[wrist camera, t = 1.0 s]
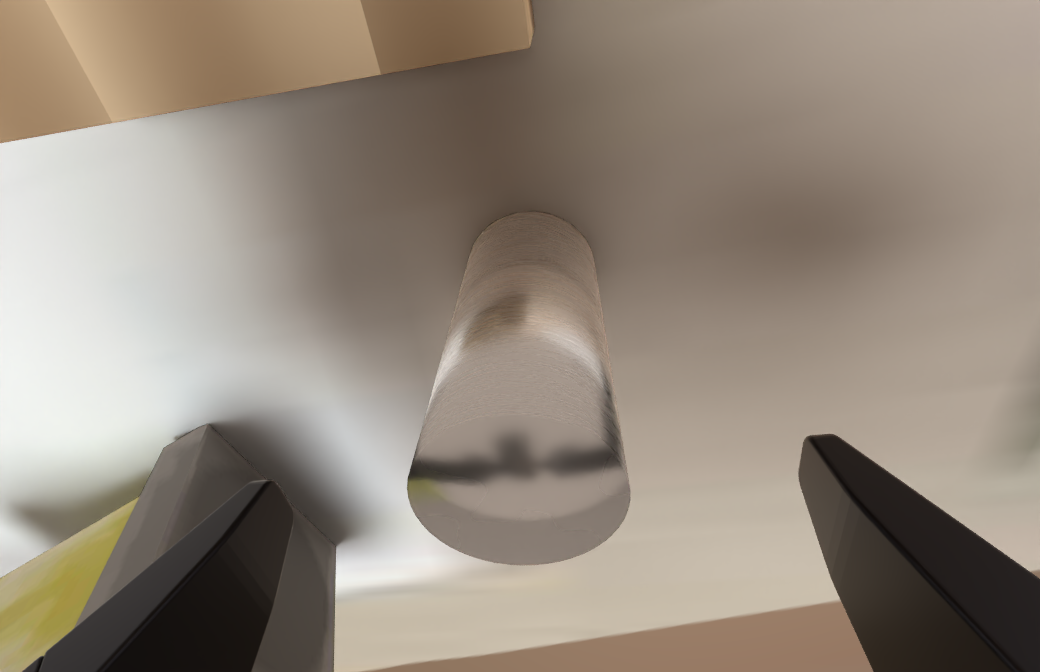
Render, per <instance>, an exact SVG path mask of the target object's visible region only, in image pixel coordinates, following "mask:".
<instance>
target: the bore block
mask: <svg viewBox="0 0 1040 672" xmlns="http://www.w3.org/2000/svg"><path fill="white" fill-rule="evenodd" d="M534 28H535V24H534V16H533V8H532V1H531V0H0V143H4V142H9V141H15V140H21V139H26V138H32V137H37V136H43V135H48V134H54V133H60V132H65V131H71V130H76V129H82V128H87V127H93V126H99V125H104V124H110V123H115V122H121V121H126V120H132V119H137V118H143V117H149V116H154V115H160V114H165V113H171V112H176V111H182V110H188V109H193V108H199V107H204V106H210V105H215V104H221V103H226V102H232V101H238V100H243V99H249V98H254V97H260V96H265V95H271V94H277V93H282V92H288V91H293V90H299V89H304V88H310V87H316V86H321V85H327V84H332V83H338V82H343V81H349V80H354V79H360V78H366V77H371V76H377V75H382V74H388V73H393V72H399V71H405V70H410V69H416V68H421V67H427V66H432V65H438V64H443V63H449V62H455V61H460V60H466V59H471V58H477V57H482V56H488V55H494V54H499V53H505V52H510V51H516V50H521V49H527V48H530V45H531V41H532V37H533V32H534Z"/></svg>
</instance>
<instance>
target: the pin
mask: <svg viewBox="0 0 1040 672" xmlns="http://www.w3.org/2000/svg"><path fill="white" fill-rule="evenodd" d="M407 490H408V498H409V501H410V504H411V507H412V509H413V511H414V513H415V515H416V517H417V518H418V519H419V521H420V522H421V523H422V525H423V526H424V527H425V528H426V529H427V530H428V531H429V532H430V533H431V534H432V535H434V536H435V537H436V538H437V539H439V540H440V541H442V542H443V543H445V544H446V545H448V546H450V547H452V548H453V549H455V550H457V551H459V552H462V553H464V554H467V555H469V556H472V557H475V558H478V559H482V560H486V561H490V562H495V563H502V564H510V565H539V564H548V563H554V562H559V561H563V560H567V559H570V558H573V557H576V556H579V555H581V554H584V553H586V552H588V551H590V550H592V549H594V548H595V547H597V546H598V545H600V544H602V543H603V542H604V541H606V540H607V539H608V538H609V537H610V536H611V535H612V534H613V533H614V532H615V531H616V530H617V529H618V528H619V526H620V525H621V523H622V522H623V520H624V518H625V516H626V514H627V511H628V508H629V503H630V486H629V480H628V473H627V467H626V460H625V454H624V448H623V441H622V435H621V429H620V422H619V416H618V409H617V403H616V397H615V390H614V384H613V378H612V371H611V365H610V358H609V352H608V346H607V339H606V333H605V327H604V320H603V314H602V307H601V301H600V295H599V288H598V282H597V276H596V269H595V263H594V257H593V254H592V251H591V248H590V246H589V244H588V242H587V241H586V239H585V238H584V236H583V235H582V234H581V233H580V232H579V231H578V230H577V229H576V228H575V227H574V226H573V225H571V224H570V223H568V222H567V221H565V220H563V219H561V218H559V217H557V216H554V215H551V214H548V213H542V212H531V211H529V212H519V213H514V214H511V215H508V216H505V217H503V218H501V219H499V220H497V221H495V222H494V223H492V224H491V225H489V226H488V227H487V228H486V229H485V230H484V231H483V232H482V233H481V234H480V235H479V237H478V238H477V240H476V241H475V243H474V245H473V247H472V249H471V252H470V256H469V260H468V263H467V267H466V270H465V274H464V278H463V281H462V285H461V288H460V292H459V296H458V299H457V303H456V307H455V310H454V314H453V317H452V321H451V325H450V328H449V332H448V335H447V339H446V343H445V346H444V350H443V353H442V357H441V361H440V364H439V368H438V372H437V375H436V379H435V382H434V386H433V390H432V393H431V397H430V400H429V404H428V408H427V411H426V415H425V418H424V422H423V426H422V429H421V433H420V437H419V440H418V444H417V447H416V451H415V455H414V458H413V462H412V465H411V469H410V473H409V476H408V485H407Z"/></svg>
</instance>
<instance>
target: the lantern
mask: <svg viewBox="0 0 1040 672" xmlns="http://www.w3.org/2000/svg"><path fill="white" fill-rule="evenodd" d="M258 480H266V479H265V478H264V477H263V476H262V475H261V474H260V473H259V472H258V471H257V470H256V469H255V468H254V467H253V466H252V465H251V464H250V463H249V462H247V461H246V460H245V459H244V458H243V457H242V456H241V455H240V454H239V453H238V452H237V451H236V450H235V449H234V448H233V447H232V446H231V445H230V444H229V443H228V442H227V441H226V440H225V439H224V438H223V437H221V436H220V435H219V434H218V433H217V432H216V431H215V430H214V429H213V428H212V427H211V426H210V425H209V424H206V425H203V426H201V427H199V428H197V429H195V430H193V431H192V432H190V433H188V434H187V435H185V436H183V437H181V438H180V439H178V440H176V441H175V442H173V443H171V444H169V445H168V446H166V447H164V448H163V450H162V452H161V454H160V456H159V458H158V460H157V462H156V464H155V466H154V468H153V470H152V472H151V474H150V476H149V478H148V480H147V482H146V484H145V486H144V488H143V490H142V492H141V494H140V496H139V497H137V498H136V499H134V500H132V501H131V502H129V503H127V504H126V505H124V506H122V507H120V508H119V509H117V510H115V511H114V512H112V513H110V514H109V515H107V516H105V517H103V518H102V519H100V520H98V521H97V522H95V523H93V524H92V525H90V526H88V527H86V528H85V529H83V530H81V531H80V532H78V533H76V534H75V535H73V536H71V537H70V538H68V539H66V540H64V541H63V542H61V543H59V544H58V545H56V546H54V547H53V548H51V549H49V550H47V551H46V552H44V553H42V554H41V555H39V556H37V557H36V558H34V559H32V560H30V561H29V562H27V563H25V564H24V565H22V566H20V567H19V568H17V569H15V570H13V571H12V572H10V573H8V574H7V575H5V576H3V577H2V578H0V672H22V671H23V670H24V669H25V668H27V667H28V666H29V665H30V664H31V663H33V662H34V661H35V660H36V659H37V658H39V657H40V656H44V655H45V652H46V651H47V650H48V649H50V648H51V647H52V646H53V645H54V644H56V643H57V642H58V641H59V640H60V639H62V638H63V637H64V636H65V635H66V634H68V633H69V632H70V631H71V630H72V629H74V628H75V627H76V626H77V625H78V624H80V623H81V622H82V621H83V620H84V619H86V618H87V617H88V616H89V615H90V614H92V613H93V612H94V611H95V610H96V609H98V608H99V607H100V606H101V605H102V604H104V603H105V602H106V601H107V600H108V599H110V598H111V597H112V596H113V595H114V594H116V593H117V592H118V591H119V590H120V589H122V588H123V587H124V586H125V585H126V584H128V583H129V582H130V581H131V580H132V579H134V578H135V577H136V576H137V575H138V574H140V573H141V572H142V571H143V570H144V569H146V568H147V567H148V566H149V565H150V564H152V563H153V562H154V561H155V560H157V559H158V558H159V557H160V556H161V555H163V554H164V553H165V552H166V551H167V550H169V549H170V548H171V547H172V546H173V545H175V544H176V543H177V542H178V541H179V540H181V539H182V538H183V537H184V536H185V535H187V534H188V533H189V532H190V531H191V530H193V529H194V528H195V527H196V526H197V525H199V524H200V523H201V522H202V521H203V520H205V519H206V518H207V517H208V516H209V515H211V514H212V513H213V512H214V511H215V510H217V509H218V508H219V507H220V506H221V505H223V504H224V503H225V502H226V501H227V500H229V499H230V498H231V497H232V496H233V495H235V494H236V493H237V492H238V491H239V490H241V489H242V488H243V487H244V486H245V485H247V484H248V483H250V482H252V481H258ZM289 503H290V502H289ZM290 504H291V503H290ZM291 506H292V508H293V511H294V523H293V528H292V532H291V536H290V540H289V545H288V549H287V553H286V558H285V562H284V566H283V570H282V575H281V579H280V583H279V588H278V592H277V595H276V599H275V603H274V606H273V610H272V613H271V616H270V619H269V622H268V625H267V628H266V631H265V634H264V637H263V640H262V643H261V646H260V649H259V651H258V654H257V657H256V660H255V663H254V666H253V669H252V672H334V628H335V574H336V546H335V545H334V544H333V543H332V542H331V541H330V540H329V539H328V538H327V537H326V536H324V535H323V534H322V533H321V532H320V531H319V530H318V529H317V528H316V527H315V526H314V525H313V524H312V523H311V522H310V521H309V520H308V519H307V518H306V517H305V516H304V515H303V514H302V513H301V512H300V511H298V510H297V509H296V508H295V507H294V506H293V505H292V504H291Z"/></svg>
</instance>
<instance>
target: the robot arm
mask: <svg viewBox="0 0 1040 672" xmlns="http://www.w3.org/2000/svg"><path fill="white" fill-rule="evenodd" d="M799 482H800V486H801V489H802V493H803V496H804V499H805V502H806V505H807V508H808V511H809V514H810V517H811V520H812V523H813V526H814V529H815V532H816V535H817V538H818V541H819V544H820V547H821V550H822V553H823V556H824V559H825V562H826V565H827V568H828V571H829V574H830V576H831V579H832V581H833V584H834V586H835V588H836V591H837V593H838V595H839V597H840V600H841V602H842V604H843V606H844V608H845V610H846V613H847V615H848V617H849V619H850V621H851V624H852V626H853V628H854V630H855V632H856V634H857V636H858V639H859V641H860V643H861V645H862V648H863V650H864V652H865V654H866V656H867V658H868V660H869V663H870V665H871V667H872V669H873V672H1040V579H1039V578H1038V577H1037V576H1035V575H1034V574H1032V573H1031V572H1029V571H1028V570H1027V569H1025V568H1024V567H1022V566H1021V565H1020V564H1018V563H1017V562H1015V561H1014V560H1012V559H1011V558H1010V557H1008V556H1007V555H1005V554H1004V553H1003V552H1001V551H1000V550H998V549H997V548H995V547H994V546H993V545H991V544H990V543H988V542H987V541H986V540H984V539H983V538H981V537H980V536H978V535H977V534H976V533H974V532H973V531H971V530H970V529H969V528H967V527H966V526H964V525H963V524H961V523H960V522H959V521H957V520H956V519H954V518H953V517H952V516H950V515H949V514H947V513H946V512H944V511H943V510H942V509H940V508H939V507H937V506H936V505H935V504H933V503H932V502H930V501H929V500H927V499H926V498H925V497H923V496H922V495H920V494H919V493H918V492H916V491H915V490H913V489H912V488H910V487H909V486H908V485H906V484H905V483H903V482H902V481H901V480H899V479H898V478H896V477H895V476H893V475H892V474H891V473H889V472H888V471H886V470H885V469H884V468H882V467H881V466H879V465H878V464H876V463H875V462H874V461H872V460H871V459H869V458H868V457H867V456H865V455H864V454H862V453H861V452H859V451H858V450H857V449H855V448H854V447H852V446H851V445H850V444H848V443H847V442H845V441H844V440H842V439H841V438H840V437H838V436H836V435H834V434H822V435H810V436H807V437H806V438H805V440H804V442H803V448H802V454H801V459H800V465H799ZM293 523H294V511H293V508H292V506H291V504H290V503H289V501H288V499H287V498H286V496H285V494H284V493H283V491H282V489H281V488H280V486H279V484H278V483H277V482H276V481H274V480H258V481H252V482H250V483H248V484H247V485H245V486H244V487H243V488H242V489H241V490H239V491H238V492H237V493H236V494H235V495H233V496H232V497H231V498H230V499H229V500H227V501H226V502H225V503H224V504H223V505H221V506H220V507H219V508H218V509H217V510H215V511H214V512H213V513H212V514H211V515H209V516H208V517H207V518H206V519H205V520H203V521H202V522H201V523H200V524H199V525H197V526H196V527H195V528H194V529H193V530H191V531H190V532H189V533H188V534H187V535H185V536H184V537H183V538H182V539H181V540H179V541H178V542H177V543H176V544H175V545H173V546H172V547H171V548H170V549H169V550H167V551H166V552H165V553H164V554H163V555H161V556H160V557H159V558H158V559H157V560H155V561H154V562H153V563H152V564H150V565H149V566H148V567H147V568H146V569H144V570H143V571H142V572H141V573H140V574H138V575H137V576H136V577H135V578H134V579H132V580H131V581H130V582H129V583H128V584H126V585H125V586H124V587H123V588H122V589H120V590H119V591H118V592H117V593H116V594H114V595H113V596H112V597H111V598H110V599H108V600H107V601H106V602H105V603H104V604H102V605H101V606H100V607H99V608H98V609H96V610H95V611H94V612H93V613H92V614H90V615H89V616H88V617H87V618H86V619H84V620H83V621H82V622H81V623H80V624H78V625H77V626H76V627H75V628H74V629H72V630H71V631H70V632H69V633H68V634H66V635H65V636H64V637H63V638H62V639H60V640H59V641H58V642H57V643H56V644H54V645H53V646H52V647H51V648H50V649H48V650H47V651H46V652H45V655H44V656H40V657H39V658H37V659H36V660H35V661H34V662H33V663H31V664H30V665H29V666H28V667H27V668H25V669H24V670H23V671H22V672H252V669H253V666H254V663H255V660H256V657H257V654H258V651H259V649H260V646H261V643H262V640H263V637H264V634H265V631H266V628H267V625H268V622H269V619H270V616H271V613H272V610H273V606H274V603H275V599H276V595H277V592H278V588H279V583H280V579H281V575H282V570H283V566H284V562H285V558H286V553H287V549H288V545H289V540H290V536H291V532H292V528H293Z"/></svg>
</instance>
